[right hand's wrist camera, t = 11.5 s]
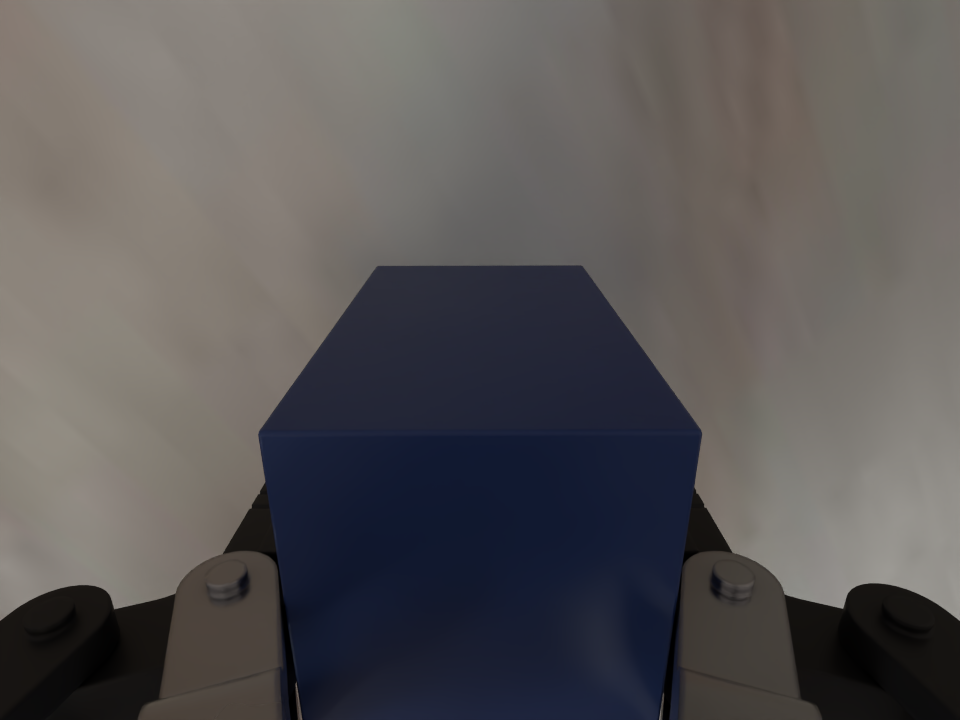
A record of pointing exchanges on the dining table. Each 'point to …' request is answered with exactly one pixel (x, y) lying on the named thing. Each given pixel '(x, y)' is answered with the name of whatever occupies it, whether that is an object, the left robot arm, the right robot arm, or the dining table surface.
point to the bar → (480, 503)
